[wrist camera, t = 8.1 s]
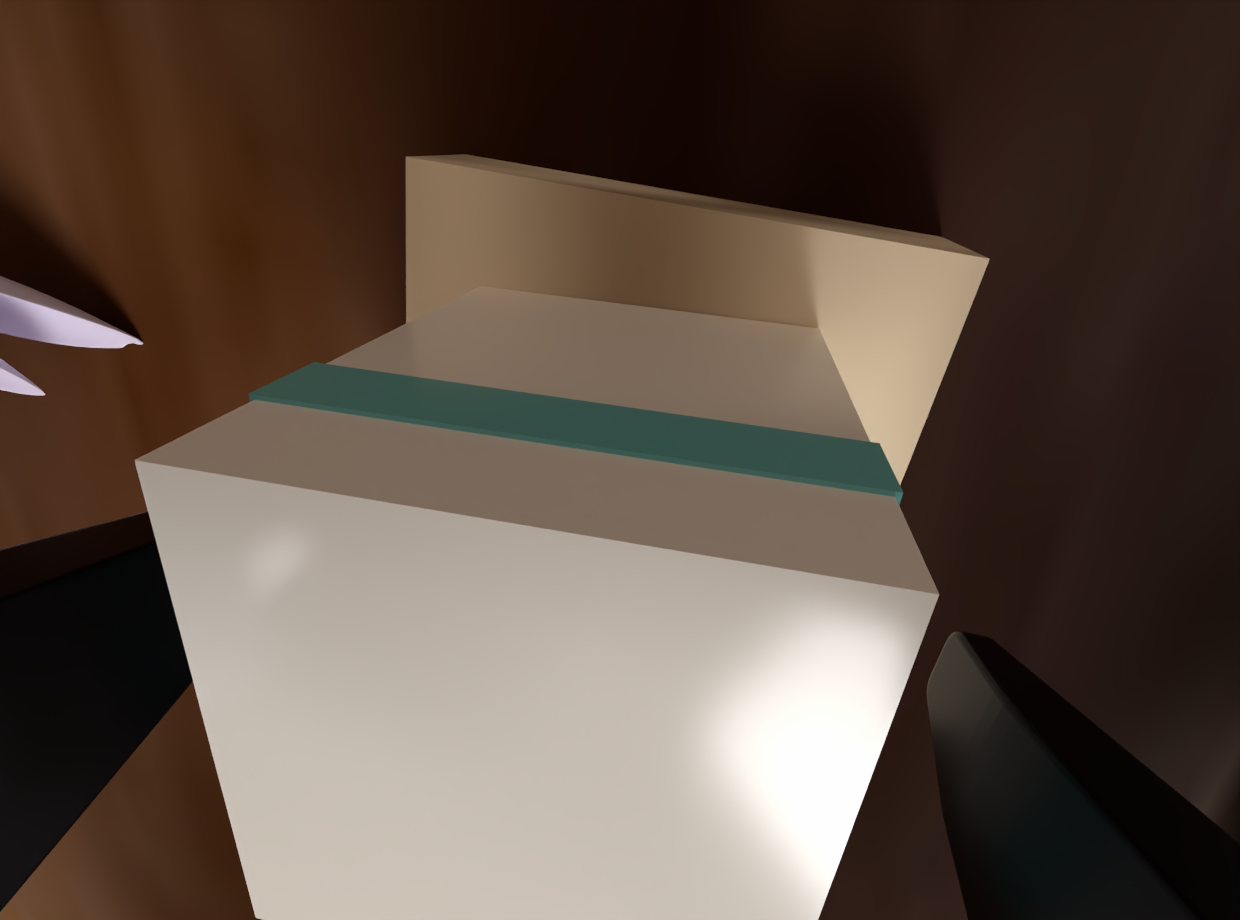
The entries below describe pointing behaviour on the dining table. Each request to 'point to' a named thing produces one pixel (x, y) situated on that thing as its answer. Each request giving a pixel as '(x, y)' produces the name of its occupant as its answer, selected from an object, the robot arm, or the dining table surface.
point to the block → (701, 270)
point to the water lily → (48, 328)
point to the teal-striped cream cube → (544, 616)
